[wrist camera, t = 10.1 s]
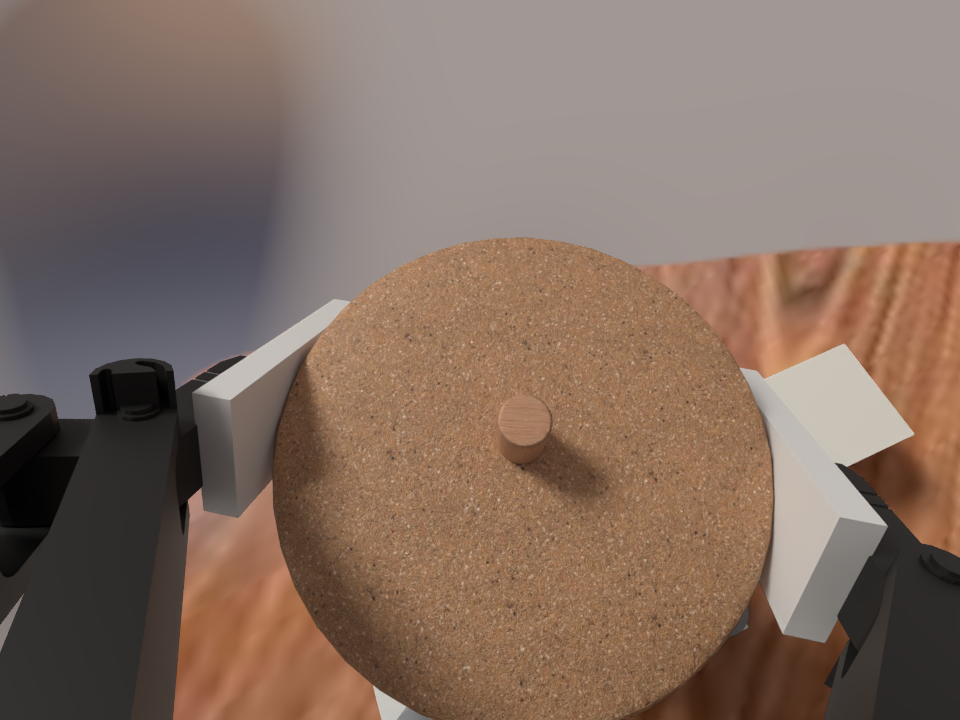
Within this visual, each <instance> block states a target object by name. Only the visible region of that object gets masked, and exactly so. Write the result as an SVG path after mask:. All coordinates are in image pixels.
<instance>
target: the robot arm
mask: <svg viewBox="0 0 960 720" xmlns="http://www.w3.org/2000/svg"><path fill="white" fill-rule="evenodd" d="M349 303H350V302H349V301H343V300H337V299H334V300H332V301H331V302H329V303H328V304H326V305H325V306H323V307H322V308H320V309H319V310H317V311H315V312H314V313H312V314H311V315H309V316H308V317H306V318H305V319H303V320H302V321H300V322H299V323H297V324H296V325H294V326H293V327H291V328H290V329H288V330H287V331H285V332H284V333H282V334H281V335H279V336H277V337H276V338H274V339H273V340H272V341H270V342H268V343H267V344H265V345H264V346H262V347H261V348H259V349H258V350H256V351H255V352H253V353H252V354H250V355H249V356H238V357H235V358H231V359H228V360H225V361H222V362H220V363H218V364H217V365H215V366H213V367H212V368H210V369H209V370H207V373H206V372H204V373H202V374H201V375H199V376H197V377H196V378H195V380H191V381H189V382H188V383H186V384H185V385H183V386H181V387H180V388H178V389H177V390H175V381H174V372H173V368H172V366H171V365H170V364H168V363H166V362H165V361H161V360H156V359H143V358H137V359H127V360H120V361H116V362H112V363H108V364H105V365H103V366H101V367H99V368H96V369H95V370H94V371H93V372H92V373H91V374H90V375H89V377H90V382H91V388H92V393H93V399H94V404H95V410H96V417H95V419H58V416H57V412H56V407H55V404H54V401H53V399H50V398H48V397H46V396H43V395H34V394H22V395H20V394H9V395H7V396H5V395H3V396H0V624H1V623H2V621H3V620H4V619H5V618H6V616H7V615H8V614H9V612H10V611H11V610H12V608H13V607H14V606H15V604H16V603H17V602H18V600H19V599H20V597H21V596H22V595H23V594H24V595H23V598H22V600H21V603H20V606H19V608H18V610H17V612H16V615H15V617H14V620H13V622H12V625H11V627H10V630H9V632H8V635H7V637H6V640H5V642H4V645H3V647H2V650H1V652H0V720H173V711H174V699H175V687H176V675H177V662H178V650H179V638H180V626H181V614H182V602H183V590H184V578H185V566H186V554H187V541H188V529H189V517H190V514H189V505H188V499H189V498H190V497H191V496H192V495H194V494H195V493H196V492H197V491H198V490H199V489H200V488H201V489H202V499H203V509H204V511H208V512H213V513H218V514H222V515H227V516H232V517H236V518H239V516H240V515H241V514H242V513H243V512H244V511H245V510H246V508H247V507H248V506H249V505H250V504H251V503H252V502H253V501H254V499H255V498H256V497H257V496H258V495H259V494H260V493H261V492H262V490H263V489H264V488H265V487H266V486H267V485H268V484H269V482H270V481H271V480H272V479H273V476H272V467H273V459H274V452H275V444H276V437H277V430H278V426H279V423H280V419H281V416H282V413H283V409H284V406H285V402H286V399H287V396H288V393H289V391H290V389H291V387H292V384H293V382H294V380H295V378H296V376H297V374H298V372H299V369H300V367H301V365H302V363H303V361H304V360H305V358H306V357H307V355H308V354H309V352H310V350H311V349H312V347H313V346H314V344H315V343H316V341H317V340H318V338H319V337H320V335H321V334H322V332H323V331H324V330H325V329H326V328H327V327H328V326H329V324H330V323H331V322H332V321H333V320H334V319H335V318H336V317H337V315H338V314H339V313H340V312H341V311H342V310H343V309H344V308H345V306H347V305H348V304H349ZM740 370H741V372H742V373H743V375H744V377H745V378H746V380H747V382H748V384H749V386H750V389H751V391H752V394H753V396H754V399H755V401H756V404H757V406H758V409H759V411H760V414H761V416H762V419H763V423H764V427H765V431H766V436H767V440H768V444H769V448H770V453H771V457H772V470H773V487H774V507H773V519H772V530H771V539H770V543H769V547H768V550H767V554H766V558H765V562H764V565H763V569H762V573H761V577H760V580H759V582H760V584H761V586H762V589H763V591H764V593H765V595H766V598H767V600H768V602H769V604H770V607H771V609H772V611H773V613H774V616H775V618H776V620H777V622H778V625H779V627H780V629H781V632H782V634H785V635H789V636H794V637H799V638H804V639H808V640H813V641H818V642H822V643H825V642H826V640H827V639H828V637H829V635H830V633H831V631H832V629H833V627H834V626H835V624H836V622H837V620H838V619H839V621H840V622H841V624H842V626H843V628H844V629H845V631H846V633H847V635H848V636H849V638H850V639H849V640H848V642H847V644H846V646H845V648H844V649H843V651H842V653H841V655H840V656H839V658H838V660H837V662H836V664H835V665H834V667H833V669H832V671H831V672H830V674H829V676H828V678H827V680H826V681H825V683H824V684H826V685H827V686H829V687H830V688H831V687H832V690H831V694H830V698H829V702H828V705H827V709H826V713H825V717H824V720H960V558H959V557H957V556H955V555H953V554H952V553H950V552H948V551H945V550H942V549H939V548H937V547H934V546H931V545H926V544H921V543H920V542H919V540H918V539H917V538H916V537H915V536H914V535H913V534H912V533H911V531H910V530H909V529H908V528H907V527H906V526H905V525H904V524H903V523H902V521H901V520H900V519H899V518H898V517H897V516H896V515H895V514H894V512H893V511H892V510H889V509H888V506H887V505H886V503H885V502H884V501H883V500H882V499H881V498H880V497H877V493H876V492H875V491H874V490H873V489H872V488H871V487H870V486H869V484H868V483H867V482H866V481H865V480H864V479H863V478H862V477H860V476H859V475H857V474H856V473H854V472H853V471H852V470H850V469H849V468H847V467H846V466H845V465H843V464H840V463H834V462H833V461H832V459H831V458H830V457H829V456H828V455H827V454H826V452H825V451H824V450H823V449H822V448H821V446H820V445H819V444H818V443H817V442H816V441H815V439H814V438H813V437H812V436H811V435H810V433H809V432H808V431H807V430H806V429H805V427H804V426H803V425H802V424H801V423H800V422H799V420H798V419H797V418H796V417H795V416H794V414H793V413H792V412H791V411H790V410H789V409H788V407H787V406H786V405H785V404H784V403H783V401H782V400H781V399H780V398H779V397H778V396H777V394H776V393H775V392H774V391H773V390H772V388H771V387H770V386H769V385H768V384H767V382H766V381H765V380H764V379H763V378H762V377H761V375H760V374H759V373H758V372H757V371H755V370H749V369H743V368H740ZM24 592H25V593H24Z"/></svg>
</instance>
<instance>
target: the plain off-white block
mask: <svg viewBox="0 0 960 720" xmlns="http://www.w3.org/2000/svg"><path fill="white" fill-rule="evenodd" d="M764 380H765V381H766V382H767V384H768V385H769V386H770V387H771V388H772V390H773V391H774V392H775V393H776V394H777V396H778V397H779V398H780V399H781V400H782V401H783V403H784V404H785V405H786V406H787V407H788V409H789V410H790V411H791V412H792V413H793V414H794V416H795V417H796V418H797V419H798V420H799V422H800V423H801V424H802V425H803V426H804V427H805V429H806V430H807V431H808V432H809V433H810V435H811V436H812V437H813V438H814V439H815V441H816V442H817V443H818V444H819V445H820V446H821V448H822V449H823V450H824V451H825V452H826V454H827V455H828V456H829V457H830V458H831V459H832V461H833V462H834V463H840V464H843V465H845V466H846V467H848V466H850V465H852V464H854V463H856V462H858V461H860V460H862V459H864V458H867V457H869V456H871V455H873V454H875V453H877V452H879V451H881V450H883V449H885V448H887V447H890V446H892V445H894V444H896V443H898V442H900V441H902V440H904V439H906V438H908V437H910V436H913V435H915V434H914V433H913V431H912V430H911V429H910V428H909V426H908V425H907V424H906V422H905V421H904V420H903V419H902V417H901V416H900V415H899V413H898V412H897V411H896V409H895V408H894V407H893V406H892V404H891V403H890V402H889V400H888V399H887V398H886V397H885V395H884V394H883V393H882V391H881V390H880V389H879V388H878V386H877V385H876V384H875V382H874V381H873V380H872V378H871V377H870V376H869V375H868V373H867V372H866V371H865V369H864V368H863V367H862V366H861V364H860V363H859V362H858V360H857V359H856V358H855V357H854V355H853V354H852V353H851V351H850V350H849V349H848V347H847V346H846V345H845V344H842V345H840V346H838V347H835V348H833V349H831V350H829V351H826V352H824V353H822V354H820V355H817V356H815V357H813V358H810V359H808V360H806V361H804V362H801V363H799V364H797V365H795V366H792V367H790V368H788V369H786V370H783V371H781V372H779V373H777V374H774V375H772V376H770V377H768V378H765V379H764Z"/></svg>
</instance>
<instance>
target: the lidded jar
mask: <svg viewBox="0 0 960 720" xmlns="http://www.w3.org/2000/svg"><path fill="white" fill-rule="evenodd" d="M272 476H273V509H274V515H275V520H276V525H277V531H278V536H279V541H280V547H281V550H282V553H283V556H284V558H285V561H286V564H287V567H288V569H289V572H290V575H291V578H292V581H293V583H294V586H295V589H296V590H297V592H298V594H299V596H300V597H301V599H302V601H303V603H304V604H305V606H306V608H307V610H308V612H309V613H310V615H311V617H312V619H313V620H314V622H315V624H316V626H317V627H318V628H319V629H320V631H321V632H322V633H323V634H324V636H325V637H326V638H327V639H328V641H329V642H330V643H331V644H332V645H333V647H334V648H335V649H336V650H337V652H338V653H339V654H340V655H341V656H342V658H343V659H344V660H345V661H346V662H347V663H348V664H349V665H350V666H352V667H353V668H354V669H355V670H356V671H357V672H359V673H360V674H361V675H362V676H363V677H364V678H366V679H367V680H368V681H369V682H370V683H371V684H372V685H374V686H375V687H376V688H377V689H378V690H379V691H381V692H383V693H384V694H386V695H388V696H389V697H391V698H393V699H394V700H396V701H398V702H400V703H401V704H403V705H405V706H406V707H408V708H410V709H411V710H413V711H415V712H416V713H418V714H420V715H422V716H425V717H428V718H431V719H433V720H625V719H627V718H630V717H632V716H635V715H637V714H639V713H642V712H644V711H646V710H648V709H649V708H651V707H652V706H654V705H655V704H657V703H658V702H660V701H662V700H663V699H665V698H666V697H668V696H669V695H671V694H672V693H674V692H675V691H677V690H678V689H680V688H681V687H683V686H684V685H685V684H686V683H687V682H688V681H689V680H690V679H691V678H692V677H693V676H694V675H696V674H697V673H698V672H699V671H700V670H701V669H702V668H703V667H704V666H705V665H706V664H707V663H708V662H709V661H710V660H711V659H712V658H713V657H714V656H715V655H716V654H717V653H718V651H719V650H720V648H721V647H722V645H723V644H724V643H725V641H726V640H727V638H728V637H729V636H730V634H731V633H732V631H733V630H734V628H735V627H736V626H737V624H738V623H739V621H740V620H741V619H742V617H743V614H744V612H745V610H746V608H747V606H748V604H749V602H750V599H751V597H752V595H753V593H754V591H755V589H756V586H757V584H758V582H759V580H760V577H761V573H762V569H763V565H764V562H765V558H766V554H767V550H768V547H769V543H770V539H771V530H772V519H773V507H774V487H773V470H772V457H771V453H770V448H769V444H768V440H767V436H766V431H765V427H764V423H763V419H762V416H761V414H760V411H759V409H758V406H757V404H756V401H755V399H754V396H753V394H752V391H751V389H750V386H749V384H748V382H747V380H746V378H745V377H744V375H743V373H742V372H741V370H740V368H739V366H738V365H737V363H736V361H735V359H734V358H733V356H732V354H731V353H730V351H729V350H728V348H727V347H726V346H725V345H724V343H723V342H722V341H721V340H720V338H719V337H718V336H717V334H716V333H715V332H714V331H713V329H712V328H711V327H710V325H709V324H708V323H707V322H706V321H705V320H704V319H703V318H702V317H701V316H700V315H699V314H698V313H697V312H696V311H695V310H693V309H692V308H691V307H690V306H689V305H688V304H687V303H686V302H685V301H684V300H683V299H682V298H681V297H679V296H678V295H677V294H675V293H674V292H673V291H671V290H670V289H669V288H667V287H666V286H665V285H663V284H662V283H661V282H659V281H658V280H657V279H655V278H654V277H652V276H650V275H649V274H647V273H645V272H643V271H641V270H639V269H637V268H635V267H633V266H631V265H630V264H628V263H625V262H624V261H622V260H619V259H617V258H614V257H611V256H609V255H607V254H604V253H602V252H599V251H597V250H594V249H591V248H587V247H582V246H577V245H573V244H569V243H565V242H560V241H552V240H544V239H536V238H527V237H526V238H501V239H488V240H481V241H475V242H468V243H462V244H458V245H455V246H452V247H449V248H445V249H442V250H439V251H436V252H433V253H429V254H427V255H425V256H423V257H420V258H418V259H416V260H413V261H411V262H409V263H407V264H404V265H402V266H400V267H399V268H397V269H395V270H394V271H392V272H391V273H389V274H388V275H386V276H384V277H383V278H381V279H380V280H378V281H376V282H375V283H373V284H372V285H370V286H369V287H368V288H367V289H366V290H365V291H363V292H362V293H361V294H360V295H359V296H357V297H356V298H355V299H354V300H353V301H351V302H350V303H349V304H348V305H347V306H345V308H344V309H343V310H342V311H341V312H340V313H339V314H338V315H337V317H336V318H335V319H334V320H333V321H332V322H331V323H330V324H329V326H328V327H327V328H326V329H325V330H324V331H323V332H322V334H321V335H320V337H319V338H318V340H317V341H316V343H315V344H314V346H313V347H312V349H311V350H310V352H309V354H308V355H307V357H306V358H305V360H304V361H303V363H302V365H301V367H300V369H299V372H298V374H297V376H296V378H295V380H294V382H293V384H292V387H291V389H290V391H289V393H288V396H287V399H286V402H285V406H284V409H283V413H282V416H281V419H280V423H279V426H278V430H277V437H276V444H275V452H274V459H273V467H272Z"/></svg>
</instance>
